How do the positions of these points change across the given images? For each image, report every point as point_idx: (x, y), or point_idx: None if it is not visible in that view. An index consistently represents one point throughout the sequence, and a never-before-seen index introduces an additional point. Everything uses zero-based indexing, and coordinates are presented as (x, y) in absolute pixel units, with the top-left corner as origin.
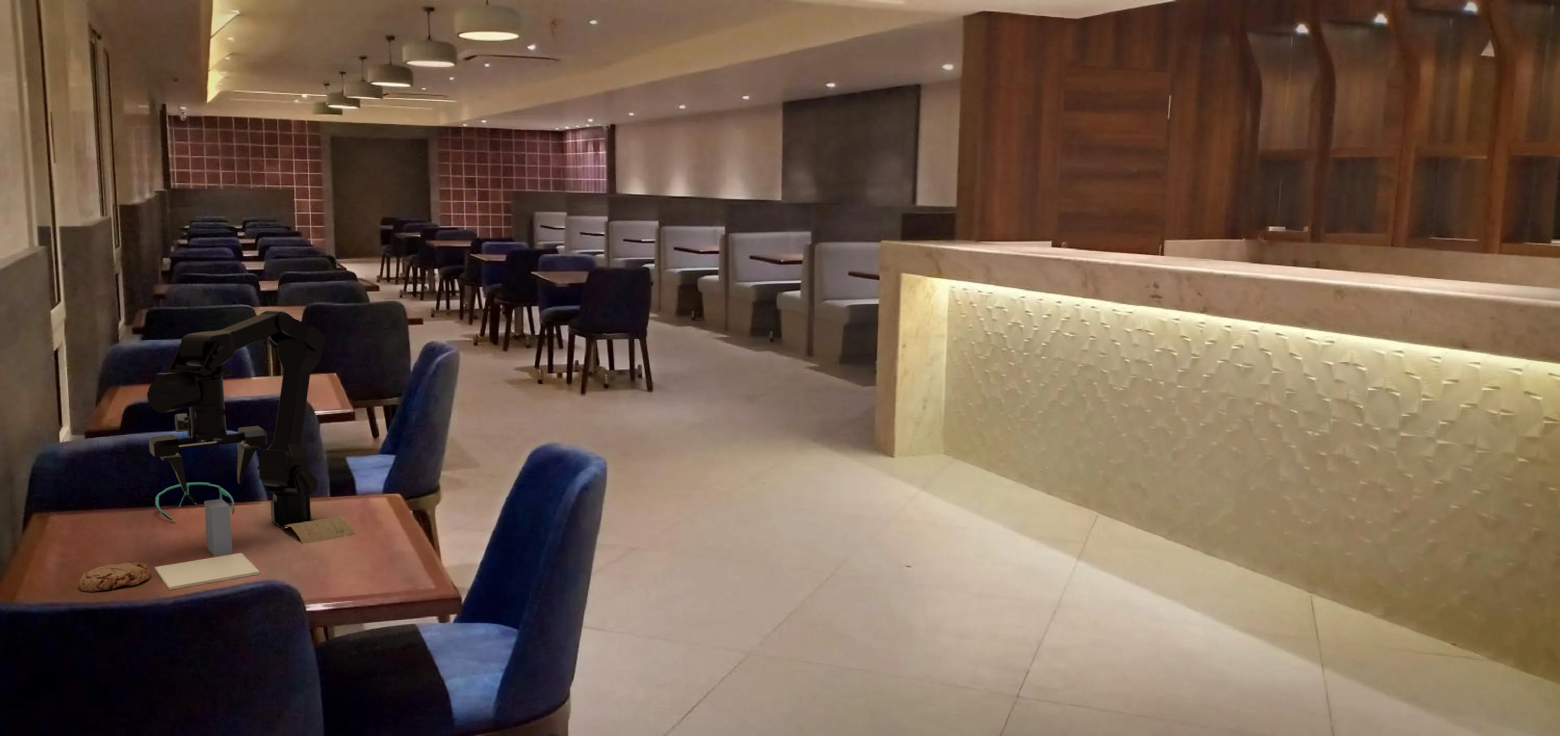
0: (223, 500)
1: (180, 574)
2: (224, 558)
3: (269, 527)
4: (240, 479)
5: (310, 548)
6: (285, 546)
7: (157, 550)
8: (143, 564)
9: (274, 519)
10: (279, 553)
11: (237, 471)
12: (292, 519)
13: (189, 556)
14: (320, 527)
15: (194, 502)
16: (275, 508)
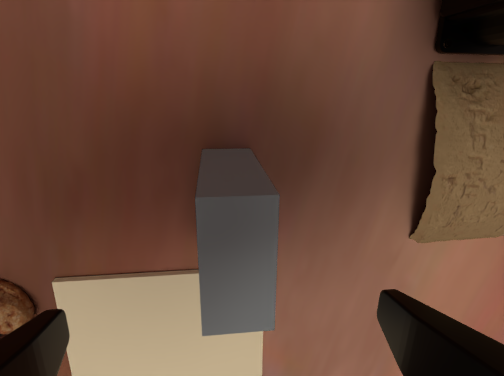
0: (276, 232)
1: (110, 362)
2: None
3: (414, 15)
4: (396, 350)
5: (404, 286)
6: (369, 243)
7: (60, 83)
8: (12, 329)
9: (447, 11)
10: (338, 289)
11: (432, 338)
12: (487, 43)
13: (147, 204)
14: (489, 204)
15: None
16: (484, 4)
